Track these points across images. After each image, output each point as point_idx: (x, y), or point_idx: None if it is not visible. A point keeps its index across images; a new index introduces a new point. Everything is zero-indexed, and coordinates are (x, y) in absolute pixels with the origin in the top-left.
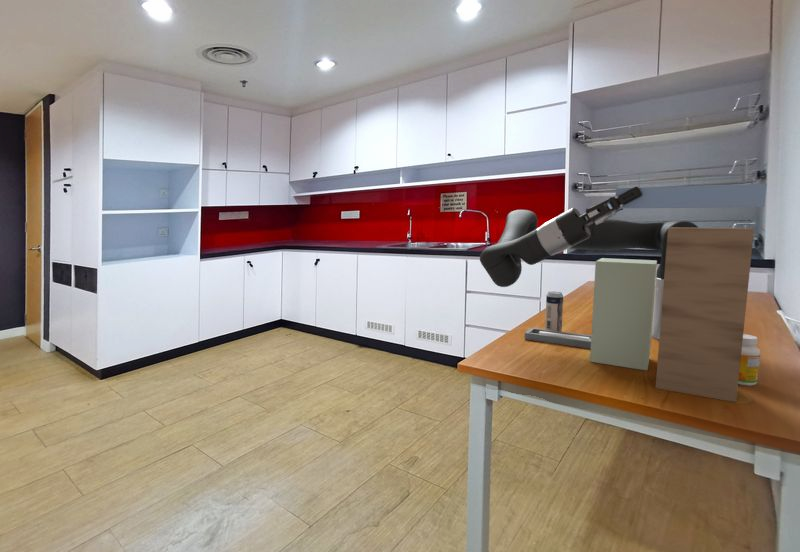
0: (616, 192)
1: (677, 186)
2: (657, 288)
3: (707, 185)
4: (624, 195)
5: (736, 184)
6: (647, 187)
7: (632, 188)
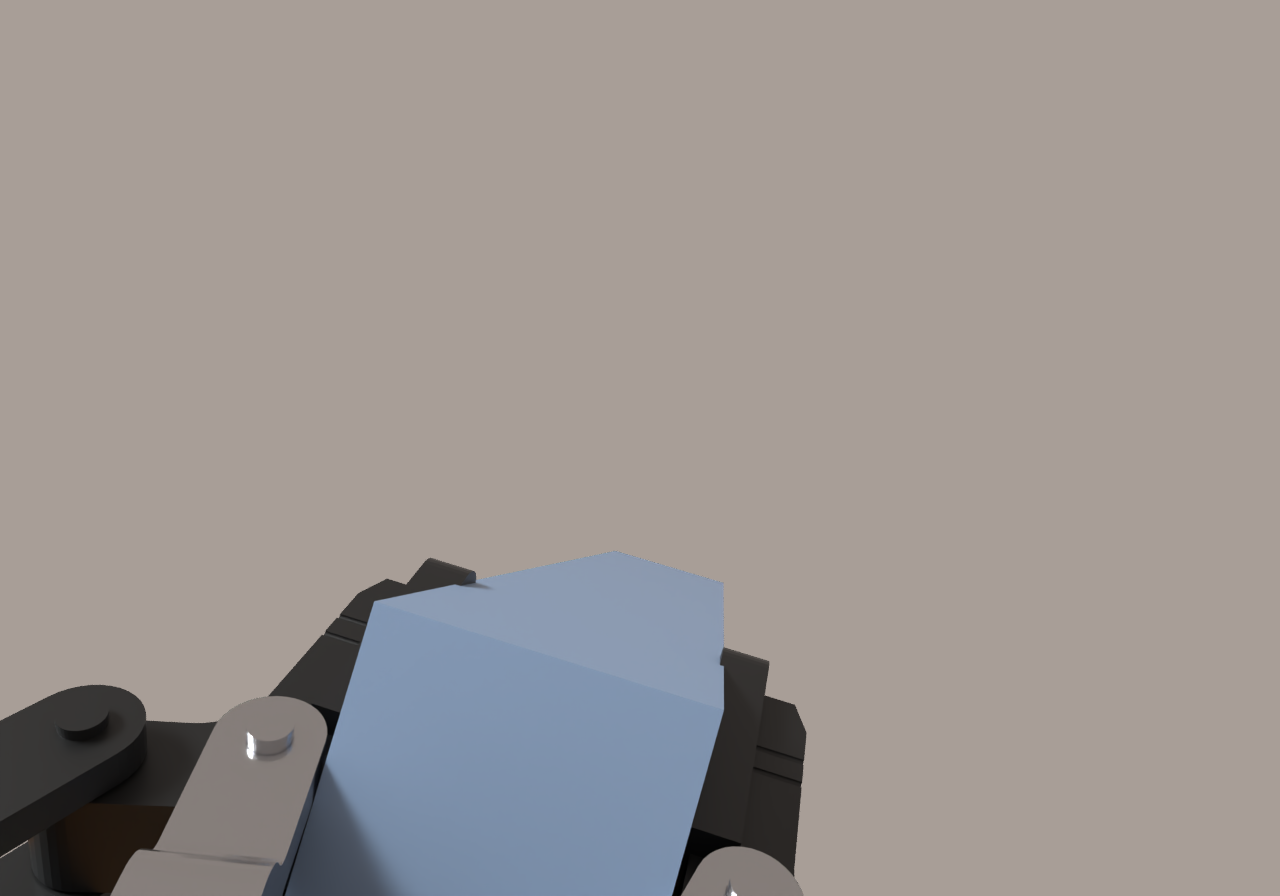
0: (703, 782)
1: (720, 617)
2: None
3: (721, 600)
4: (796, 837)
5: (722, 590)
6: (723, 646)
7: (761, 691)
